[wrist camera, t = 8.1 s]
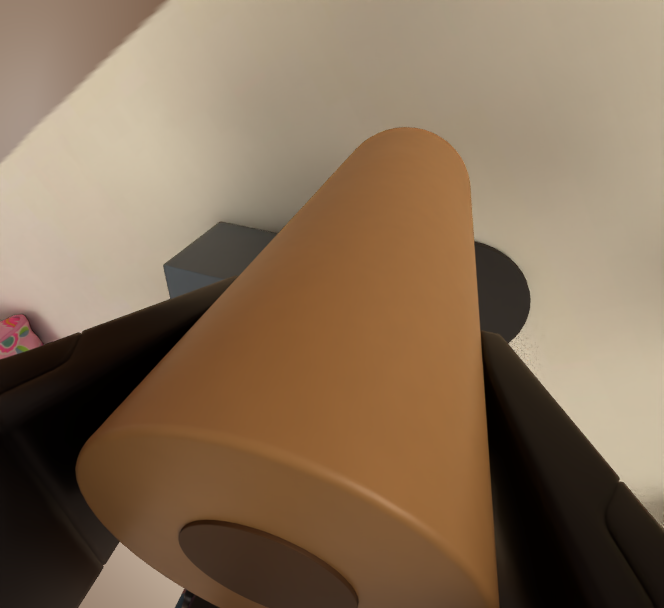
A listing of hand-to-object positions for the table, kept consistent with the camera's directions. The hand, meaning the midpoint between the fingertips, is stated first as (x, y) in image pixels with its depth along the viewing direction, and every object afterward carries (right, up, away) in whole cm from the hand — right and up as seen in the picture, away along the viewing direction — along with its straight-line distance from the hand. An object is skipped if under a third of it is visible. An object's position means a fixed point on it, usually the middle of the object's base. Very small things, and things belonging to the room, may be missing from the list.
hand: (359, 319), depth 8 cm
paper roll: (+1, 0, +7) cm, 7 cm away
